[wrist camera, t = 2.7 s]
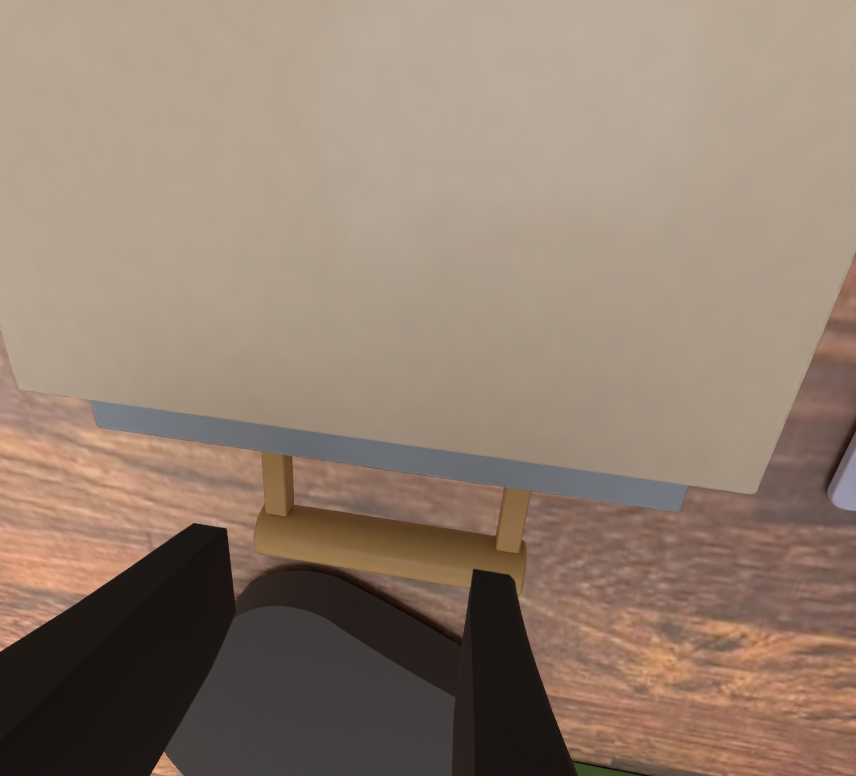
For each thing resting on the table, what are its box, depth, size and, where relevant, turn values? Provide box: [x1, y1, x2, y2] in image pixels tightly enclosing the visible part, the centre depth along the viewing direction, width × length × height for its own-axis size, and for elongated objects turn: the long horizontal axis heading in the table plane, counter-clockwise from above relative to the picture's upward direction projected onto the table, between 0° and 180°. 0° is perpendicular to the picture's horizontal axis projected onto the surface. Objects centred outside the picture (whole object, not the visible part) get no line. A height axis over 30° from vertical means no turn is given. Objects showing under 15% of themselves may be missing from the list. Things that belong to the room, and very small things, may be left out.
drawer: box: [91, 400, 689, 596], centre depth 12 cm, size 17×11×7 cm, turn 176°
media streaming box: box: [164, 570, 462, 776], centre depth 25 cm, size 15×15×3 cm
